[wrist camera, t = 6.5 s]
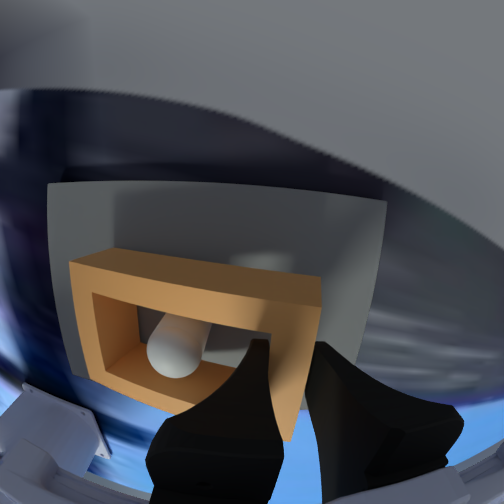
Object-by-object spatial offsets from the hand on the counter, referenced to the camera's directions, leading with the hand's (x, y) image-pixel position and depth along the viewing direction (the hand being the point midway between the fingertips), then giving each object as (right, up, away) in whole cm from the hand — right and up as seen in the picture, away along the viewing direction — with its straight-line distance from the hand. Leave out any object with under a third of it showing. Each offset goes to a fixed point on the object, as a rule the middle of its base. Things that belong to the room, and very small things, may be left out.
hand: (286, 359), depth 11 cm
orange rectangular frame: (-4, +1, +3) cm, 5 cm away
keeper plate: (-5, +1, +5) cm, 7 cm away
